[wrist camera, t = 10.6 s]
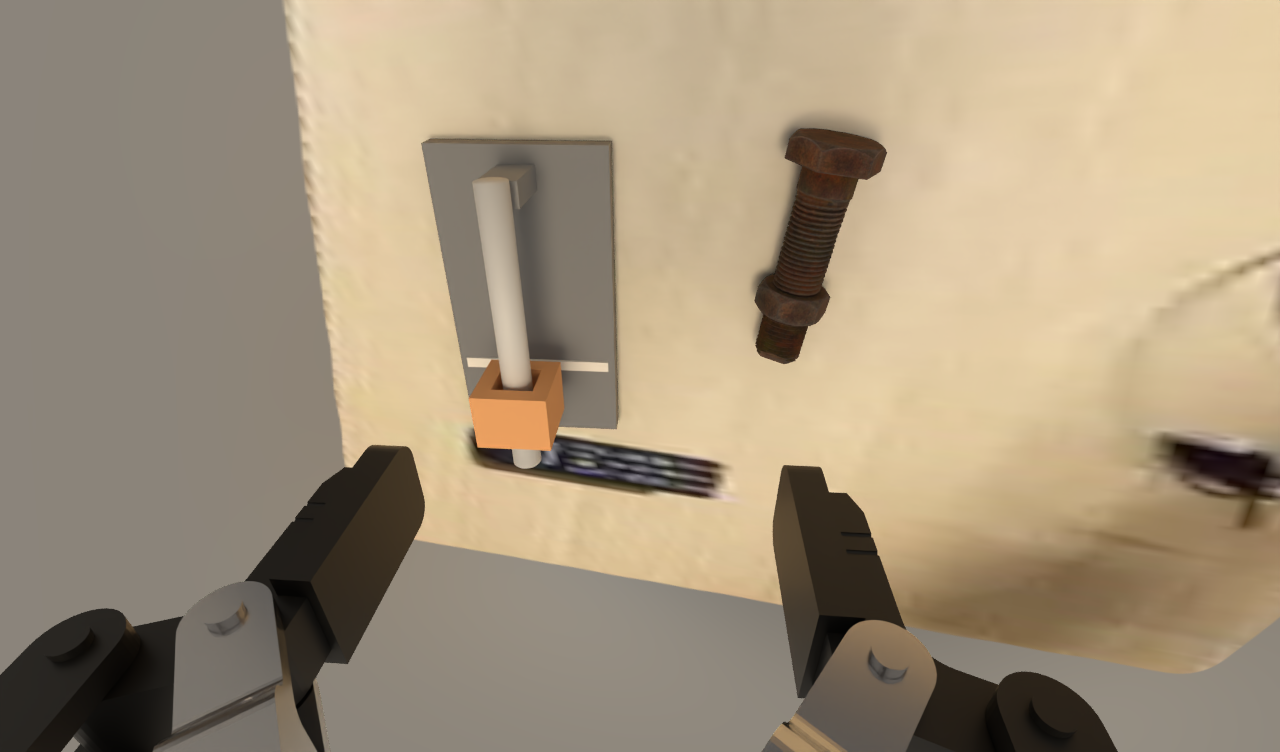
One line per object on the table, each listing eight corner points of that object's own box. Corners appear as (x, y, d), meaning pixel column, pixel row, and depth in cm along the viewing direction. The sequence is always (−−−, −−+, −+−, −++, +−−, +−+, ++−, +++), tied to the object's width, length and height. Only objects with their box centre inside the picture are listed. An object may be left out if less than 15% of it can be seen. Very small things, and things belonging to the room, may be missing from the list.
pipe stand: (430, 139, 38) (373, 165, 31) (611, 141, 37) (594, 168, 30) (479, 412, 49) (445, 475, 43) (618, 418, 49) (606, 483, 42)
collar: (491, 359, 41) (468, 398, 37) (560, 361, 41) (545, 401, 37) (498, 405, 43) (478, 447, 39) (564, 408, 43) (550, 450, 39)
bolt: (760, 328, 46) (816, 124, 37) (821, 352, 44) (895, 142, 35) (727, 356, 41) (782, 133, 33) (793, 385, 39) (869, 155, 31)
